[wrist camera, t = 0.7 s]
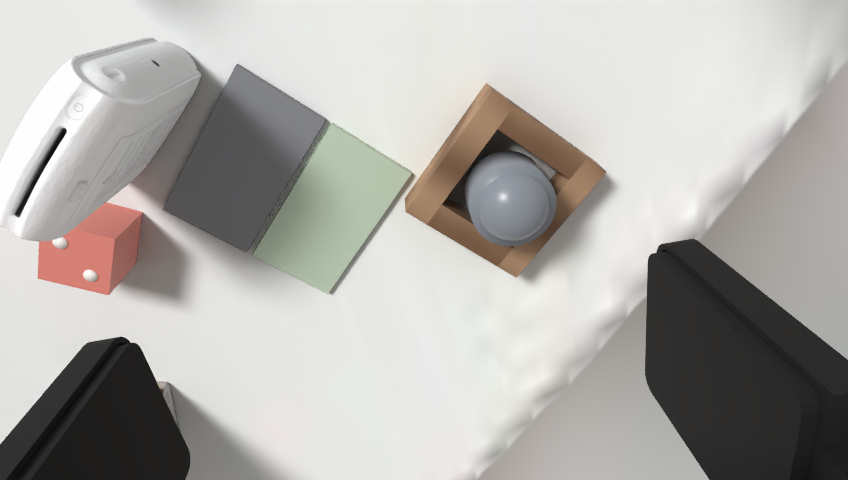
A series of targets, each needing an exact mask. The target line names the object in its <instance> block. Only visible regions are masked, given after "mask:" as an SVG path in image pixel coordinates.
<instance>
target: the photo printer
mask: <svg viewBox="0 0 848 480" xmlns="http://www.w3.org/2000/svg"><path fill="white" fill-rule="evenodd" d="M200 78H201V73H200V72H199V71H197V66H196V64H195V62H194V60H193V59H192V58H191V56H190V55H189V54H188V53H187V52H186V51H185V50H184V49H182V48H181V47H179V46H177V45H176V44H173V43H170V42H165V41H156V40H155V39H154V38H144V39H140V40H136V41H132V42H128V43H124V44H120V45H116V46H112V47H109V48H105V49H100V50H97V51H93V52H90V53H86V54H82V55H78V56H75V57H73V58H72V59H70V60H69V61H68V62H67V63H65V64H64V65H63V66H62V67H61V68H60V69H59V70H58V71H57V72H56V73H55V74H54V75H53V77H52V78H51V79H50V80H49V82H48V83H47V84H46V86H45V87H44V88H43V90H42V91H41V93H40V94H39V96H38V97H37V98H36V100H35V102H34V103H33V104H32V106H31V107H30V109H29V111H28V112H27V114H26V116H25V117H24V119H23V121H22V123H21V124H20V126H19V128H18V130H17V131H16V133H15V135H14V137H13V139H12V141H11V143H10V145H9V147H8V149H7V151H6V153H5V155H4V157H3V159H2V162H1V164H0V227H3V228H6V229H8V230H10V231H12V232H14V233H15V234H16V235H17V236H18V237H19V238H22V239H26V240H31V241H51V240H55V239H59V238H61V237H63V236H64V235H66V234H67V233H69V232H70V231H71V230H72V229H73V228H75V227H76V226H77V225H78V224H80V223H81V222H82V221H83V220H84V219H86V218H87V217H88V216H89V215H91V214H92V213H93V212H94V211H95V210H97V209H98V208H99V207H100V206H102V205H103V204H104V203H105V202H107V201H108V200H109V199H110V198H112V197H113V196H114V195H115V194H117V193H118V192H119V191H120V190H122V189H123V188H124V187H125V186H127V185H128V184H129V183H130V182H132V181H133V180H134V179H135V178H136V177H137V176H138V175H139V174H140V173H141V172H142V171H143V170H144V169H145V167H146V166H147V165H148V163H149V162H150V161H151V159H152V158H153V156H154V155H155V154H156V152H157V151H158V149H159V148H160V146H161V145H162V143H163V142H164V140H165V139H166V137H167V136H168V134H169V133H170V131H171V129H172V128H173V126H174V125H175V123H176V122H177V120H178V119H179V117H180V116H181V114H182V112H183V111H184V109H185V107H186V106H187V104H188V102H189V101H190V99H191V97H192V96H193V94H194V92H195V90H196V88H197V86H198V83H199V81H200Z"/></svg>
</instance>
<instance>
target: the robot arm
mask: <svg viewBox="0 0 848 480" xmlns="http://www.w3.org/2000/svg"><path fill="white" fill-rule="evenodd" d="M645 375H646V380H647V384H648V386H649V389H650V391H651V392H652V394H653V396H654V397H655V399H656V400H657V402H658V403H659V405H660V406H661V407H662V409H663V411H664V412H665V414H666V415H667V416H668V418H669V420H670V421H671V423H672V424H673V426H674V427H675V429H676V430H677V432H678V433H679V435H680V436H681V438H682V439H683V441H684V442H685V444H686V445H687V447H688V448H689V450H690V451H691V453H692V454H693V456H694V457H695V458H696V460H697V461H698V463H699V465H700V466H701V468H702V469H703V471H704V472H705V474H706V475H707V476H708V478H709V480H848V360H847V359H846V358H844V357H843V356H842V355H841V354H840V353H838V352H837V351H836V350H835V349H833V348H832V347H831V346H829V345H828V344H827V343H826V342H824V341H823V340H822V339H821V338H819V337H818V336H817V335H816V334H814V333H813V332H812V331H810V330H809V329H808V328H807V327H805V326H804V325H803V324H802V323H801V322H799V321H798V320H797V319H795V318H794V317H793V316H792V315H790V314H789V313H788V312H787V311H785V310H784V309H783V308H782V307H780V306H779V305H778V304H777V303H775V302H774V301H773V300H772V299H770V298H769V297H767V295H765V294H764V293H763V292H761V291H760V290H759V289H758V288H756V287H755V286H754V285H753V284H751V283H750V282H749V281H747V280H746V279H745V278H744V277H742V276H741V275H740V274H739V273H738V272H736V271H735V270H734V269H732V268H731V267H730V266H728V265H727V264H726V263H725V262H724V261H722V260H721V259H720V258H719V257H717V256H716V255H715V254H714V253H712V252H711V251H710V250H709V249H707V248H706V247H705V246H704V245H702V244H701V243H700V242H698V241H697V240H695V239H689V240H683V241H677V242H671V243H665V244H661V245H660V246H659V247H658V249H657V253H654V254H651V255H650V256H649V259H648V279H647V318H646V358H645ZM189 467H190V453H189V450H188V447H187V445H186V443H185V441H184V439H183V437H182V435H181V432H180V430H179V428H178V426H177V424H176V422H175V420H174V418H173V416H172V413H171V411H170V409H169V407H168V405H167V403H166V401H165V399H164V396H163V394H162V392H161V390H160V388H159V386H158V384H157V382H156V379H155V377H154V375H153V373H152V371H151V369H150V367H149V365H148V363H147V360H146V358H145V356H144V354H143V352H142V350H141V348H140V347H139V346H138V345H137V344H136V343H130V341H129V340H127V339H126V338H124V337H117V338H111V339H105V340H99V341H94V342H89V343H87V344H86V345H84V346H83V347H82V349H81V350H80V351H79V352H78V353H77V355H76V356H75V357H74V358H73V359H72V360H71V362H70V363H69V364H68V365H67V366H66V367H65V369H64V370H63V371H62V372H61V373H60V375H59V376H58V377H57V378H56V379H55V380H54V382H53V383H52V384H51V385H50V386H49V388H48V389H47V390H46V391H45V392H44V393H43V395H42V396H41V397H40V398H39V399H38V401H37V402H36V403H35V404H34V405H33V406H32V408H31V409H30V410H29V411H28V412H27V413H26V415H25V416H24V417H23V418H22V419H21V421H20V422H19V423H18V424H17V425H16V426H15V428H14V429H13V430H12V431H11V432H10V434H9V435H8V436H7V437H6V438H5V439H4V441H3V442H2V443H1V444H0V480H185V479H186V476H187V474H188V471H189Z"/></svg>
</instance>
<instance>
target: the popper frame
mask: <svg viewBox="0 0 848 480" xmlns="http://www.w3.org/2000/svg"><path fill="white" fill-rule="evenodd" d="M497 129H498V130H499V131H501V132H502V133H504V134H505V135H506V136H508V137H509V138H511V139H512V140H514V141H515V142H517V143H518V144H520V145H521V146H522V147H524V148H525V149H527V150H528V151H530V152H531V153H533V154H534V155H535V156H537V157H538V158H540V159H541V160H543V161H544V162H546V163H547V164H548V165H550V166H551V167H553V168H554V169H556V170H557V172H556V174H555V175H554V176H553V177H552V178H551V180H550V181H549V182H550V183H551V184H552V186H553V188H554V191H555V194H556V200H557V205H556V212H555V215H554V218H553V220H552V222H551V224H550V225H549V226H548V228H547V229H546V230H545V231H544V232H543V233H542V234H541V235H540V236H539V237H537V238H536V239H534V240H532V241H530V242H528V243H526V244H523V245H519V246H500V245H496V244H494V243H491V242H489V241H488V240H486V239H485V238H483V237H482V236H481V235H480V234H479V232H478V231H477V230H476V228H475V226H474V224H473V222H472V219H471V216H470V212H469V210H467V209H465V208H464V207H462V206H460V205H459V204H457V203H456V202H454V201H452V200H451V199H449V198H448V195H449V194H450V193H451V191H452V190H453V188H454V187H455V186H456V184H457V183H458V182H459V180H460V179H461V178H462V176H463V175H464V174H465V172H466V171H467V170H468V168H469V167H470V165H471V164H472V163H473V161H474V160H475V159H476V157H477V156H478V155H479V153H480V152H481V151H482V149H483V148H484V147H485V145H486V144H487V142H488V141H489V140H490V138H491V137H492V136H493V134H494V133H495V132H496V130H497ZM605 173H606V171H605V170H604V169H603V168H602V167H601V166H599V165H598V164H597V163H596V162H595V161H594V160H593V159H591V158H590V157H588V156H587V155H586V154H584V153H583V152H581V151H580V150H579V149H577V148H576V147H574V146H573V145H572V144H570V143H569V142H567V141H566V140H565V139H563V138H562V137H561V136H559V135H558V134H556V133H555V132H554V131H552V130H551V129H549V128H548V127H547V126H545V125H544V124H542V123H541V122H540V121H538V120H537V119H535V118H534V117H533V116H531V115H530V114H528V113H527V112H526V111H524V110H523V109H521V108H520V107H519V106H517V105H516V104H514V103H513V102H512V101H510V100H509V99H508V98H506V97H505V96H503V95H502V94H501V93H499V92H498V91H496V90H495V89H494V88H492V87H491V86H489V85H488V84H487V83H486V84H485V86H484V87H483V89H482V90H481V91H480V93H479V94H478V96H477V97H476V99H475V100H474V101H473V103H472V104H471V106H470V107H469V108H468V110H467V111H466V113H465V114H464V116H463V117H462V118H461V120H460V121H459V123H458V124H457V125H456V127H455V128H454V130H453V131H452V133H451V134H450V135H449V137H448V138H447V140H446V141H445V142H444V144H443V145H442V147H441V148H440V150H439V151H438V152H437V154H436V155H435V157H434V158H433V159H432V161H431V162H430V164H429V165H428V167H427V168H426V169H425V171H424V172H423V174H422V175H421V176H420V178H419V179H418V181H417V182H416V184H415V185H414V186H413V188H412V189H411V191H410V192H409V193H408V195H407V196H406V198H405V209H406V212H407V213H409V214H410V215H412V216H414V217H415V218H417V219H419V220H420V221H422V222H424V223H425V224H427V225H429V226H430V227H432V228H434V229H435V230H437V231H439V232H441V233H442V234H444V235H446V236H447V237H449V238H451V239H452V240H454V241H456V242H457V243H459V244H461V245H462V246H464V247H466V248H467V249H469V250H471V251H473V252H474V253H476V254H478V255H479V256H481V257H483V258H484V259H486V260H488V261H489V262H491V263H493V264H494V265H496V266H498V267H499V268H501V269H503V270H505V271H506V272H508V273H510V274H511V275H513V276H515V277H516V278H517V276H518V275H519V274H520V273H521V272H522V271H523V269H524V268H525V267H526V266H527V265H528V263H529V262H530V261H531V260H532V259H533V258H534V256H535V255H536V254H537V253H538V252H539V251H540V249H541V248H542V247H543V246H544V245H545V244H546V242H547V241H548V240H549V239H550V238H551V237H552V235H553V234H554V233H555V232H556V231H557V229H558V228H559V227H560V226H561V225H562V224H563V222H564V221H565V220H566V219H567V218H568V217H569V215H570V214H571V213H572V212H573V211H574V210H575V208H576V207H577V206H578V205H579V204H580V203H581V201H582V200H583V199H584V198H585V197H586V196H587V194H588V193H589V192H590V191H591V190H592V188H593V187H594V186H595V185H596V184H597V183H598V181H599V180H600V179H601V178H602V177H603V176H604V174H605Z"/></svg>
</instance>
